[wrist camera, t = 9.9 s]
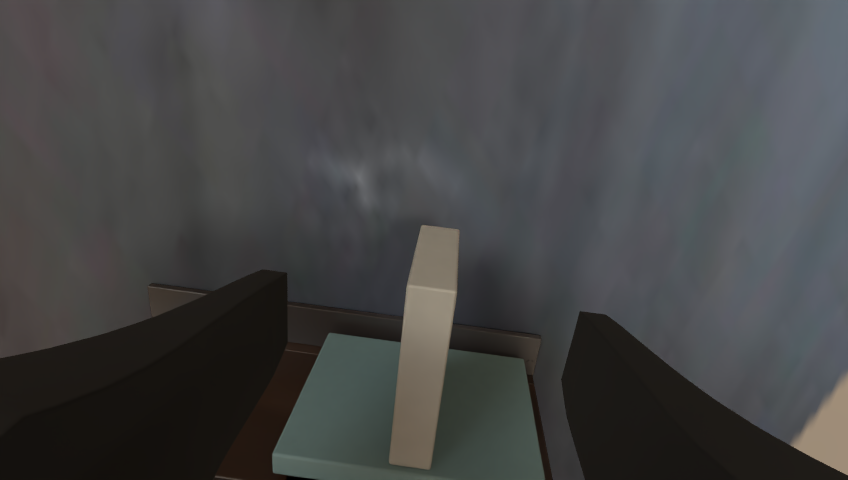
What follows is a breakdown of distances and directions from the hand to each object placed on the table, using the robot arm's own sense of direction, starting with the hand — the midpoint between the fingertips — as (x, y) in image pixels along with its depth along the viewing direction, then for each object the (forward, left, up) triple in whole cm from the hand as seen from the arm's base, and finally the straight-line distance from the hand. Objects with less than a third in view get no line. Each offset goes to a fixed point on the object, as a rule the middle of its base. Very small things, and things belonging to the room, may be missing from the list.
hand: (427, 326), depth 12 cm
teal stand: (-2, 0, -6) cm, 6 cm away
